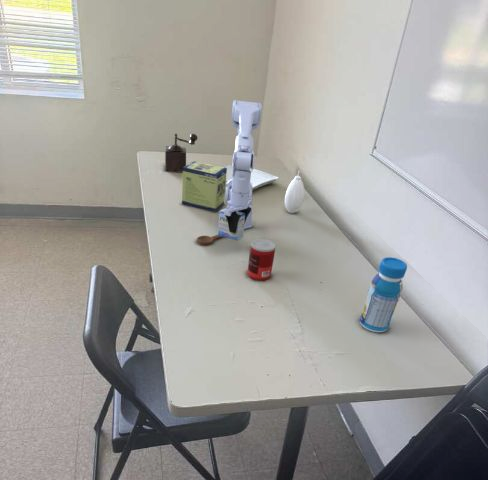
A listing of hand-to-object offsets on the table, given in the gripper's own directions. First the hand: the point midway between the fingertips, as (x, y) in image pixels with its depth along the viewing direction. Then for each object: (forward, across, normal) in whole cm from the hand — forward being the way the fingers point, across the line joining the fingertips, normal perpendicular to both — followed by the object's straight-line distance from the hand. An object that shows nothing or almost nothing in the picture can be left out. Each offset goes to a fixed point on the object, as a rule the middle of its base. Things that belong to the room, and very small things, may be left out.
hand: (236, 229), depth 150 cm
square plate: (+8, -66, -36) cm, 75 cm away
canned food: (+8, +9, +15) cm, 19 cm away
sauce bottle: (+8, -49, 0) cm, 49 cm away
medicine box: (+3, 0, -2) cm, 3 cm away
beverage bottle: (+8, +13, +55) cm, 57 cm away
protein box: (+8, -28, -33) cm, 44 cm away
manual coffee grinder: (+8, -59, -68) cm, 90 cm away
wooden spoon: (+8, -3, -11) cm, 14 cm away
